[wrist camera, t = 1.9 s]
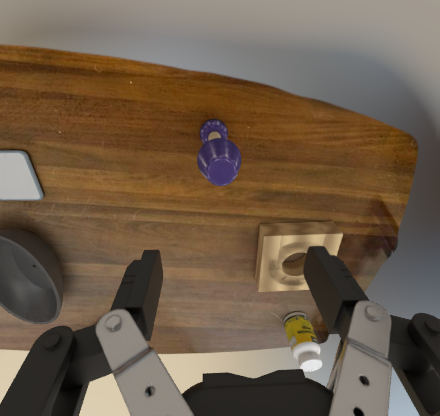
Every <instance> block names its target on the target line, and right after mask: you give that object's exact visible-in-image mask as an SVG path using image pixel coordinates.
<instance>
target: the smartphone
mask: <svg viewBox="0 0 440 416" xmlns="http://www.w3.org/2000/svg"><path fill="white" fill-rule="evenodd" d="M43 197H44V195H43V192H42V189H41V187H40V184H39V182H38V179H37V177H36V174H35V172H34V169H33V167H32V164H31V162H30V159H29V157H28V155H27V153H26V152H24V151H21V150H0V200H41V199H42V198H43Z"/></svg>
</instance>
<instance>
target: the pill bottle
mask: <svg viewBox="0 0 440 416" xmlns="http://www.w3.org/2000/svg"><path fill="white" fill-rule="evenodd" d="M284 326H285V330H286V333H287V337H288V340H289V343H290V347H291V350H292V354H293V356H294V357H295V358H296V359H297V360H298V362H299V365H300V368H301V369H303V371H315V370H318V369H319V368H320V367H321V366H322V361H321V358H320V356H319V354H320V346H319V344H318V341H317V338H316V336H315V333H314V331H313V328H312V326H311V323H310V320H309V318H308V316H307V315H306V314H304V313H301V312H294V313H291V314H289V315H288V316H286V317H285V319H284Z"/></svg>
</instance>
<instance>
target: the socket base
mask: <svg viewBox="0 0 440 416" xmlns="http://www.w3.org/2000/svg"><path fill="white" fill-rule="evenodd" d="M342 235H343V233H342V232H341V230H340V229H339V228H338V227H337V225H336V224H335V223H334V222H333V221H325V222H294V223H263V224H260V228H259V239H258V251H257V262H256V274H255V279H256V283H257V288H258V292H268V291H291V290H310V289H309V287H308V285H307V283H306V280H305V278H304V274H303V267H304V263H305V258H306V254H307V250H308V247H309V246H324V247H325V248H326V249H327V251H328V252H329V254H330V255H335V256H336V255H337V252H338V249H339V245H340V242H341V239H342ZM298 252H304V253H305V255H304V256H303V257H302V258H301V259H299V260H297V261H294V262H284V260H285V258H287V257H288V256H290V255H291V254H294V253H298Z"/></svg>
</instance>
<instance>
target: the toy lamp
mask: <svg viewBox="0 0 440 416" xmlns="http://www.w3.org/2000/svg"><path fill="white" fill-rule="evenodd" d="M227 136H228V131H227V128H226V126H225V124H224V123H223V122H221V121H220V120H217V119H211V120H208V121H206V122H205V123H204V124H203V125H202V127H201V129H200V138H201V140H202V142H203V143H204V145H203V146H202V147H201V149H200V151H199V153H198V157H197V163H198V167H199V169H200V171H201V173H202V174H203V175H204V176H205V177H206V178H207V179H208V180H209V181H210V182H211V183H212V184H214V185H217V186H225V185H228V184H230V183H231V182H232V181H233V180H234V179H235V178H236V176H237V173H238V171H239V168H240V165H241V154H240V151H239V149H238V148H237V146H236V145H235V144H234V143H233V142H231V141H230V140H227Z"/></svg>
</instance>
